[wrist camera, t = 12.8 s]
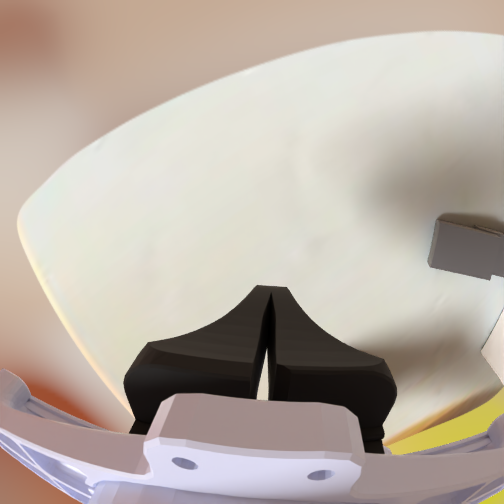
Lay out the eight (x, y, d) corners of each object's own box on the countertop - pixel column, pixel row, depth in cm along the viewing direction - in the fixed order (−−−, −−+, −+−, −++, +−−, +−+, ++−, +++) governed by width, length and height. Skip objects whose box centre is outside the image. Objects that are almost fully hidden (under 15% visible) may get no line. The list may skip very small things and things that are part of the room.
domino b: (465, 263, 20) (512, 274, 18) (470, 269, 19) (518, 280, 17) (474, 225, 19) (522, 238, 17) (480, 228, 18) (528, 242, 15)
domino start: (427, 261, 20) (484, 274, 18) (430, 267, 19) (489, 280, 17) (436, 219, 19) (495, 234, 17) (440, 222, 18) (501, 238, 16)
